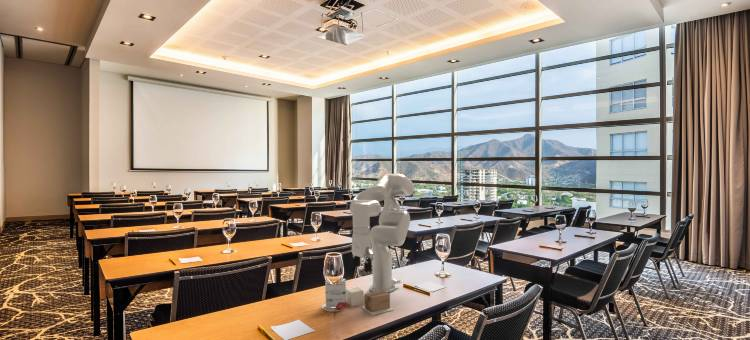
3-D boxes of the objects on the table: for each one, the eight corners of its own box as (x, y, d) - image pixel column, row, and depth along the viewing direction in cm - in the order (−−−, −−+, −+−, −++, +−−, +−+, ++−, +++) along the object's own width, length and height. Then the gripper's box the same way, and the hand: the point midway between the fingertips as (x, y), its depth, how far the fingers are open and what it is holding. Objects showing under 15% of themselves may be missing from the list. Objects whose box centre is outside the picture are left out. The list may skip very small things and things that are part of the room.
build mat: (381, 303, 177) (381, 302, 177) (393, 310, 168) (393, 309, 168) (361, 307, 172) (361, 306, 172) (372, 315, 163) (372, 314, 163)
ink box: (346, 304, 177) (345, 277, 176) (345, 308, 172) (344, 281, 171) (327, 304, 177) (326, 278, 176) (325, 308, 172) (325, 281, 171)
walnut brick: (364, 307, 171) (364, 293, 170) (382, 303, 175) (382, 290, 175) (371, 312, 165) (371, 297, 165) (389, 307, 170) (389, 293, 170)
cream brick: (357, 299, 182) (357, 286, 182) (363, 303, 177) (363, 290, 177) (345, 302, 180) (345, 289, 179) (351, 306, 174) (351, 292, 174)
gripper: (344, 228, 180) (345, 265, 181) (364, 234, 165) (365, 275, 166) (359, 226, 184) (360, 263, 185) (379, 232, 169) (380, 271, 170)
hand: (362, 268), depth 175 cm, fingers open, 9 cm apart
